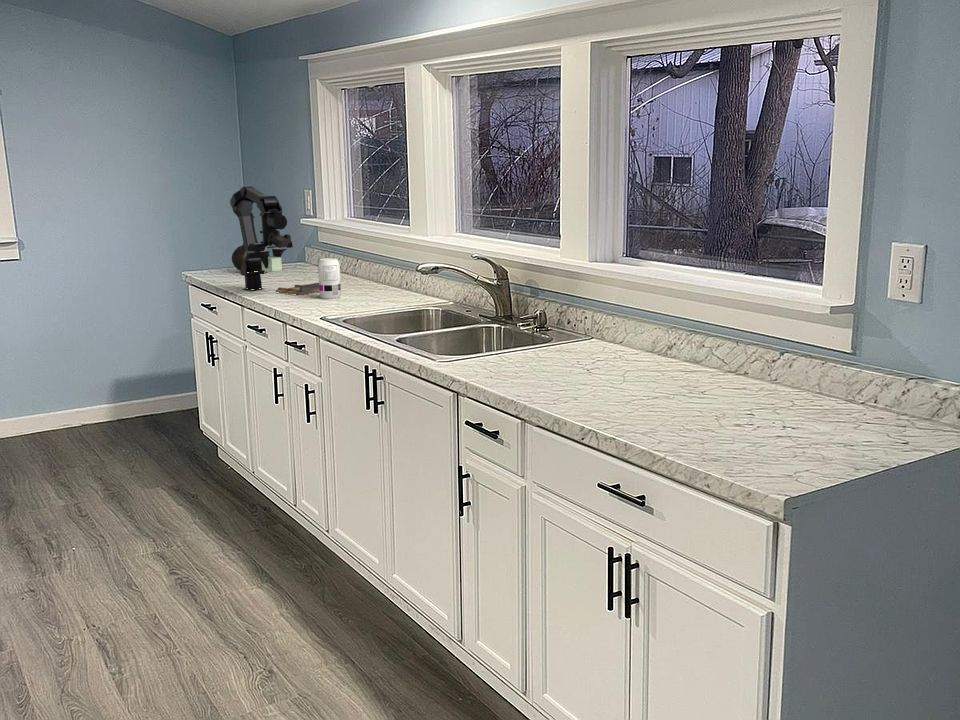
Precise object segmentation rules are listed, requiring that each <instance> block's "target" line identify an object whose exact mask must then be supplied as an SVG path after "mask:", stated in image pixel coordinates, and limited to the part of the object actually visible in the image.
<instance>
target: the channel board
mask: <svg viewBox="0 0 960 720" xmlns="http://www.w3.org/2000/svg"><path fill="white" fill-rule="evenodd" d="M276 292H279V293H288V294H296V295H295V296H298V295H302V296H305V295H304V294H307V295H310V294H309V293H313V294H316V293H315V292H318V293H320V291H319V282H314V283H309V284H294V286H293V287H277V289H276V290H275V293H276ZM279 293H278V294H279ZM288 294H287V295H288Z"/></svg>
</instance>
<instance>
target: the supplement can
mask: <svg viewBox="0 0 960 720" xmlns="http://www.w3.org/2000/svg"><path fill="white" fill-rule="evenodd" d="M338 259H339V258H336V257H335V258H334V257H332V258H331V257H330V258H328V257H327V258H320V259H319V260H318V263H317V267H318V269H317V271H318V272H317V273H318V283H319V291H320V292H319V297H320V298H321V299H322V298H324V300H336V298H337V299H340V298H339V297H341V296H342V287H341V286H342V285H341V267H340V261H339V260H338Z"/></svg>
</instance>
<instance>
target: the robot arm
mask: <svg viewBox="0 0 960 720" xmlns="http://www.w3.org/2000/svg"><path fill="white" fill-rule="evenodd" d="M229 202H230V203H229V204H230V207H231V208H232V211H233V213H234V215H235V216H236V217H237V218H238V222H239V227H240V231H241V237H242V238H241V239H242V242H243V243H244V248H245V254H244V256H243V263H242V266H241V269H240V271H239V272H240V275H241V276H244V284H245V285H244V286H245V287H244V288H248V289H259V288H262V287H263V286H262V285H263V284H262V277H261V275H265V270H262V263H263V264H264V266H265V268H268V254H269V255H270V252H271V251H272V257H281V258H282V255H283V253H284V252H285V251H287V250H288V249H289V248H291V249H292V248H293V247H294V246H293V242H292V238H291V236H292V235H291V234H287V233H286V234H284V235H283V234H282V235H281V233H280V232H281V231H280V230H284V229H285V228H286V227H287V225H288V220H287V217H286V216H285V215H283V208H282V206H281V204H280V201H279V199H278V197H277V196H276V195H274V194H273V195H272V194H265V193H264V192H261V191H259V190H258V189H256V188H255V187H254V186H241V188H240V189H239V190H238V191H236V192H234V193H233V194H232V195H231V197H230V201H229ZM254 203H255V204H256V208H257V209H258V210H259V211H260V213H259V216H260V217H261V230H259V233H260V234H262V240H261V241H260V242H258V243H256V242H255V237H254V232H253V227H252V222H251V217H250V214H251V213H252V211H253V207H254V206H253V204H254ZM243 243H242V244H243ZM268 249H271V251H269V250H268ZM254 271H258V272H254ZM247 272H249V273H247ZM259 290H260V289H259Z"/></svg>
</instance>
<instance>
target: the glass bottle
mask: <svg viewBox="0 0 960 720" xmlns="http://www.w3.org/2000/svg"><path fill="white" fill-rule="evenodd" d="M250 217H251V222H252V227H253V232H254V237H255V242H256V243H259V241H258V239H257V234H256V229H255V222H254V219H255V218H256V216H254V213H253V212H251V214H250ZM244 254H245V248H244V243H242V245H240V246H237V248H236V249H234V251H233V252H232V254H231V262H232V264H233V266H234V268H236V270H238V271H239V270H240V269H241V266H242V263H243V256H244ZM268 257H271V256H270V253H269V254H268Z"/></svg>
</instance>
